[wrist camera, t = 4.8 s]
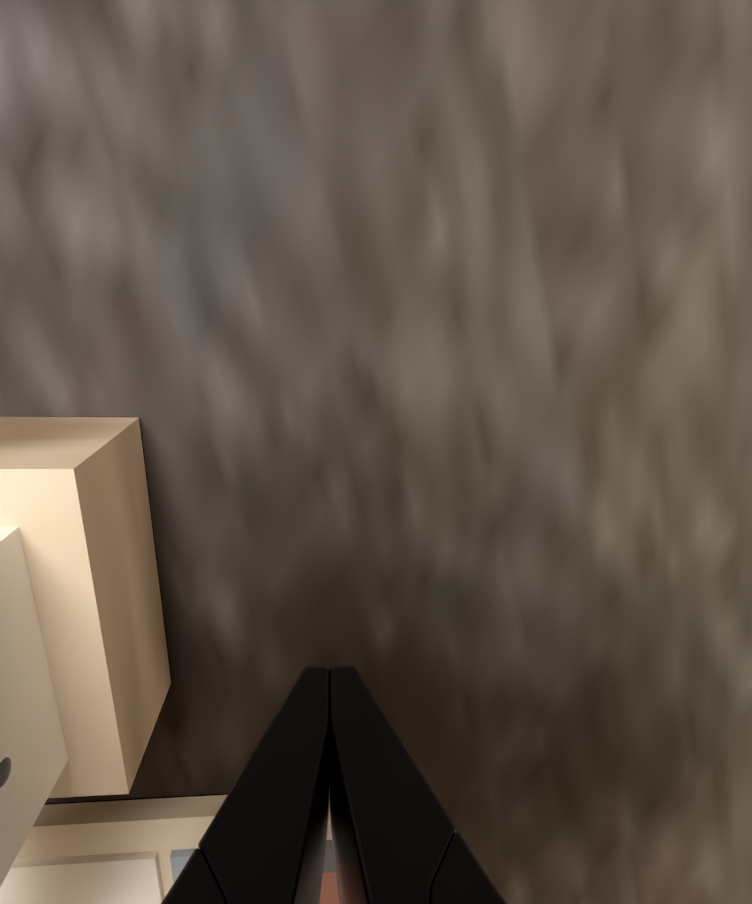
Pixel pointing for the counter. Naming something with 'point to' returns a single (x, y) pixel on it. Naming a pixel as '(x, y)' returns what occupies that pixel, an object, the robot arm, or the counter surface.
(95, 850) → the board
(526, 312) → the counter surface
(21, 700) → the die
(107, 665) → the block
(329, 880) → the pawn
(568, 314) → the counter surface
